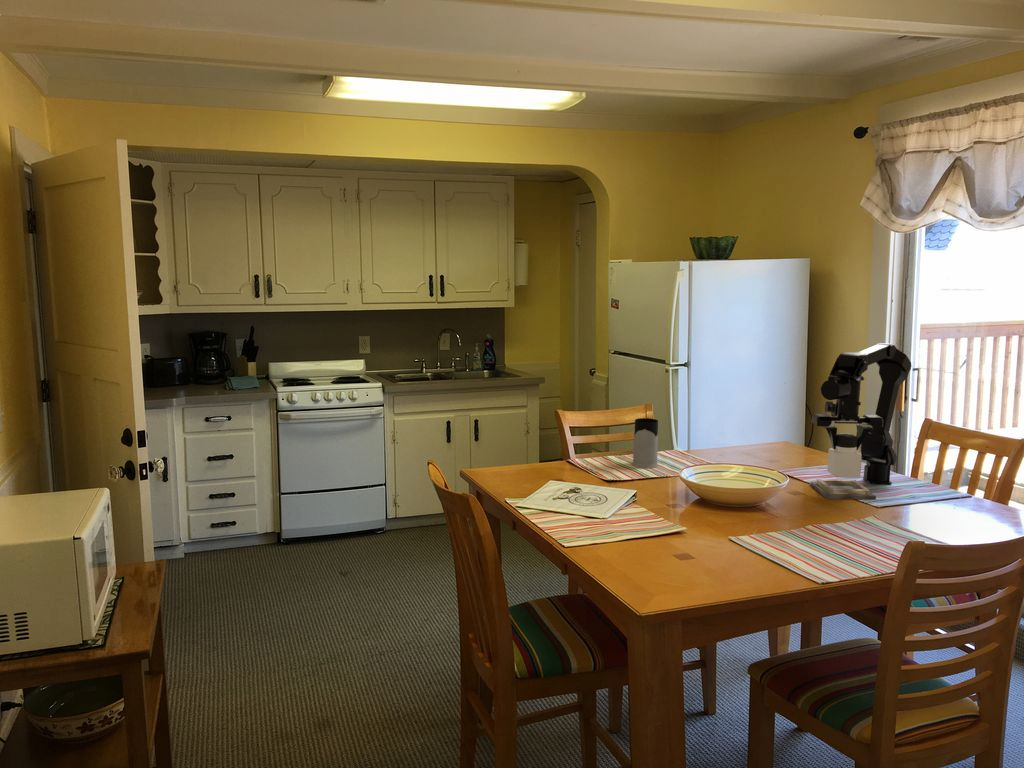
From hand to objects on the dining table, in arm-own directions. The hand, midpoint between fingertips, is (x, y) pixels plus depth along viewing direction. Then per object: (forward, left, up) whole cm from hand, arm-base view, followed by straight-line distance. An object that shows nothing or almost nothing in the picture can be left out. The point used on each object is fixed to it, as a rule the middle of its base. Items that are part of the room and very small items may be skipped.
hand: (845, 449), depth 240 cm
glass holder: (+54, -30, -13) cm, 63 cm away
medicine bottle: (0, 0, -8) cm, 8 cm away
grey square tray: (0, 0, -13) cm, 13 cm away
